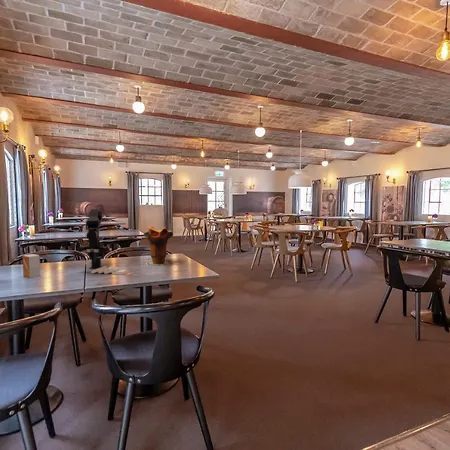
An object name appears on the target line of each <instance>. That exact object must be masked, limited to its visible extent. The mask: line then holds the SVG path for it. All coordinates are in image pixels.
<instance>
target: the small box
mask: <svg viewBox="0 0 450 450" xmlns="http://www.w3.org/2000/svg"><path fill="white" fill-rule="evenodd" d="M21 256H22V274H23V277H25V278H28V279H32V278H37V277H41V264H40V263H41V262H40V261H41V259H40V255H39V254H34V253H32V254H31V253H30V254H29V253H28V254H23V255H21Z"/></svg>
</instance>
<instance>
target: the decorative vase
mask: <svg viewBox="0 0 450 450" xmlns="http://www.w3.org/2000/svg"><path fill="white" fill-rule="evenodd" d="M173 235H174V233H173V231H172V230H168V226H164V227H162V228H161V229H159V230H157V229H156V228H155V227H154V226H149V227H148V230H147V231H144V232H143V234H142V236H143V237H145V238H146V239H147V240H148V242H149V253H150V255H149V259H148V260H150V258H151V261H148V262H146V263H145V264H146V265H147V266H153V267H154V266H155V267H158V266H168V265H170V264H171V262H170V261H169V260H166V258H167V253H166V252H167V244H168V241H169V239H170V238H172V237H173Z"/></svg>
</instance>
